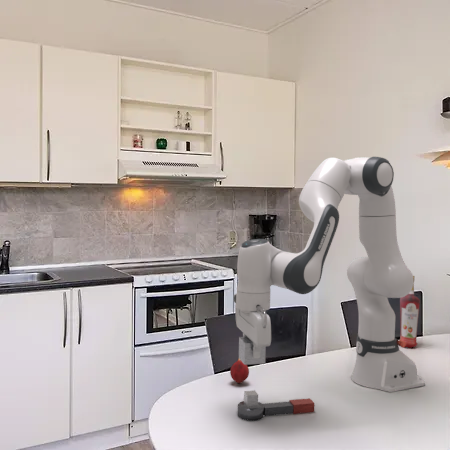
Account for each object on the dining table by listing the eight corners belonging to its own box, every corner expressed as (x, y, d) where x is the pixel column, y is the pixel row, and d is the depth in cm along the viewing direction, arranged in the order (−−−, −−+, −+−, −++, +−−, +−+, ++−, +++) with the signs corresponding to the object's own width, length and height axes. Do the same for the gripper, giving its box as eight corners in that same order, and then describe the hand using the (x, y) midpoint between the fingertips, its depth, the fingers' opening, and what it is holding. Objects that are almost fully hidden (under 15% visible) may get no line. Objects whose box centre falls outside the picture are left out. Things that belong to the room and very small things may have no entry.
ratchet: (306, 404, 139) (307, 383, 139) (317, 415, 133) (317, 393, 132) (234, 410, 134) (234, 388, 134) (241, 422, 128) (241, 399, 127)
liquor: (399, 348, 193) (402, 277, 192) (396, 343, 200) (399, 274, 199) (419, 349, 192) (422, 277, 190) (415, 344, 199) (418, 275, 198)
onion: (247, 388, 150) (247, 362, 150) (228, 386, 152) (228, 360, 151) (250, 381, 156) (250, 356, 156) (231, 379, 157) (232, 354, 157)
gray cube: (258, 356, 134) (259, 336, 134) (265, 363, 129) (265, 342, 129) (238, 357, 133) (239, 337, 133) (244, 364, 128) (244, 343, 127)
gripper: (278, 310, 121) (276, 365, 122) (253, 293, 141) (252, 341, 141) (253, 310, 119) (252, 367, 120) (231, 294, 139) (230, 342, 140)
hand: (252, 353), depth 131 cm, fingers closed on gray cube, 6 cm apart
